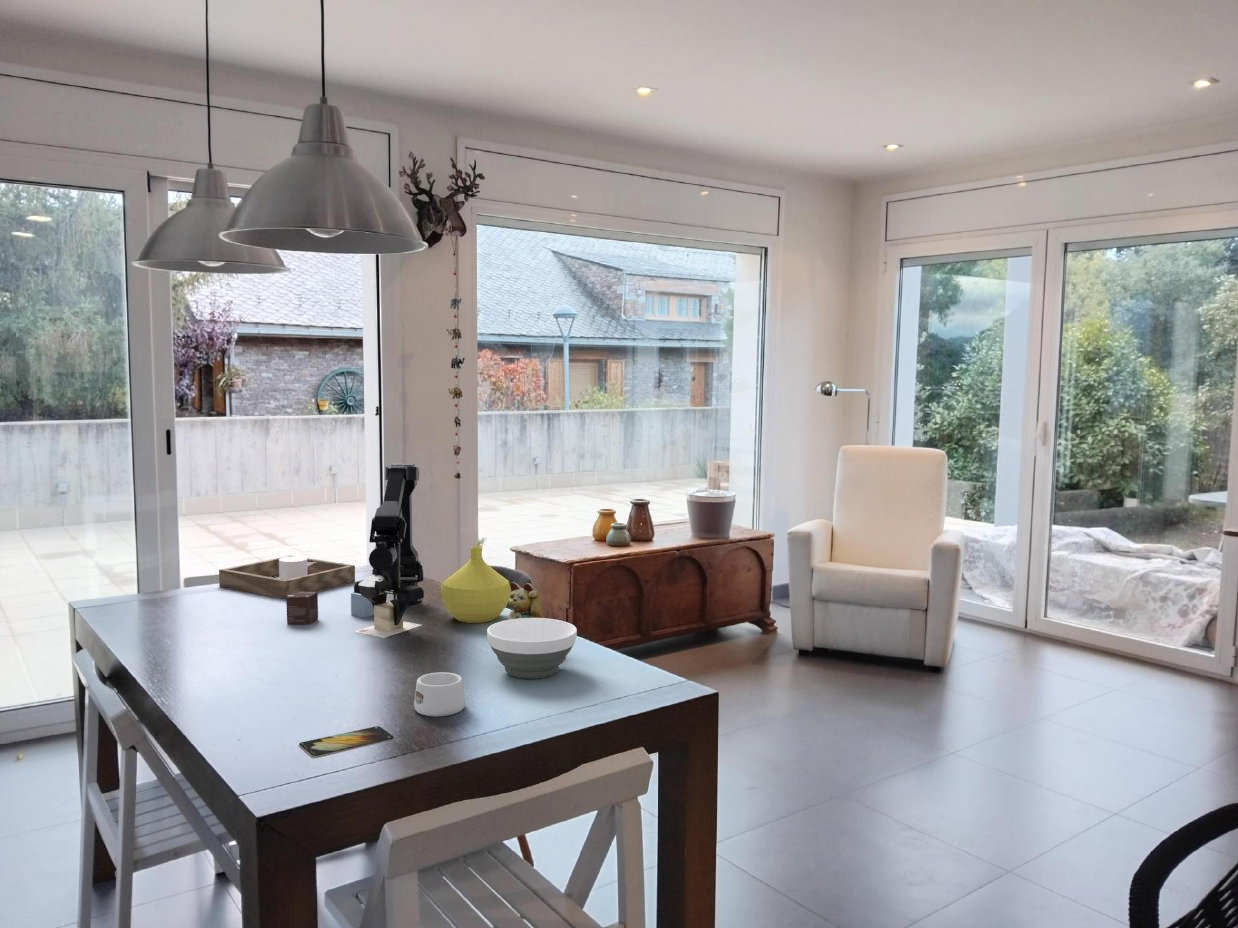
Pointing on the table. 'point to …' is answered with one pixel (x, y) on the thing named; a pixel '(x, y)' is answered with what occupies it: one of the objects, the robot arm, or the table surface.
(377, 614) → the block
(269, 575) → the wooden tray
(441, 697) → the mug
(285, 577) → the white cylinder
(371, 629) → the letter
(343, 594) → the table surface
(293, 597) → the box
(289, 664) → the table surface
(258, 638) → the table surface
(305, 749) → the smartphone
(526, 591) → the decorative figurine
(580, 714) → the table surface
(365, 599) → the cube
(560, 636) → the bowl
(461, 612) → the vase
